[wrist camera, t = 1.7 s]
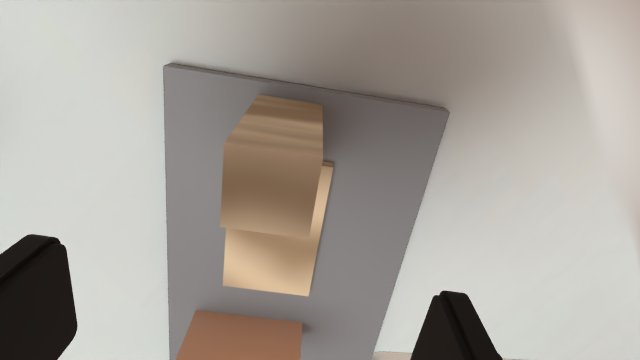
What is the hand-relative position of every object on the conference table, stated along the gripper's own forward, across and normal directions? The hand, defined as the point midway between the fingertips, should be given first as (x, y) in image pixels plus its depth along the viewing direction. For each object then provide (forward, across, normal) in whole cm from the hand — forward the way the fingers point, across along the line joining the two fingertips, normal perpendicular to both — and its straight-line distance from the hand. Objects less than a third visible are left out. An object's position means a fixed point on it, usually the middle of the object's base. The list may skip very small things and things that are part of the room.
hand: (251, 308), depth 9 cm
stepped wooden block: (+13, 0, +4) cm, 14 cm away
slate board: (+15, -1, +11) cm, 18 cm away
